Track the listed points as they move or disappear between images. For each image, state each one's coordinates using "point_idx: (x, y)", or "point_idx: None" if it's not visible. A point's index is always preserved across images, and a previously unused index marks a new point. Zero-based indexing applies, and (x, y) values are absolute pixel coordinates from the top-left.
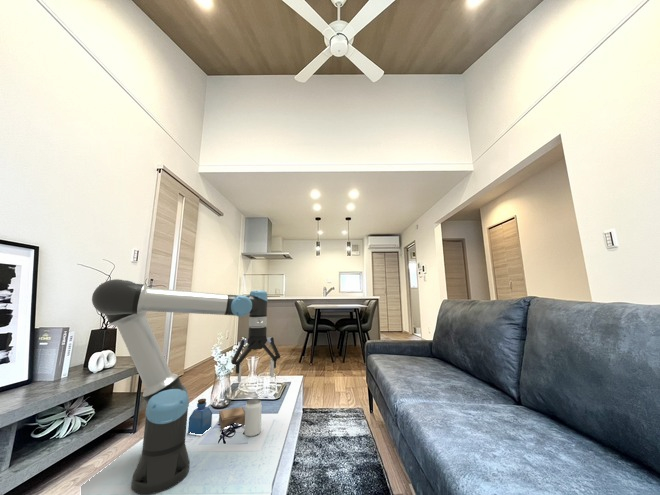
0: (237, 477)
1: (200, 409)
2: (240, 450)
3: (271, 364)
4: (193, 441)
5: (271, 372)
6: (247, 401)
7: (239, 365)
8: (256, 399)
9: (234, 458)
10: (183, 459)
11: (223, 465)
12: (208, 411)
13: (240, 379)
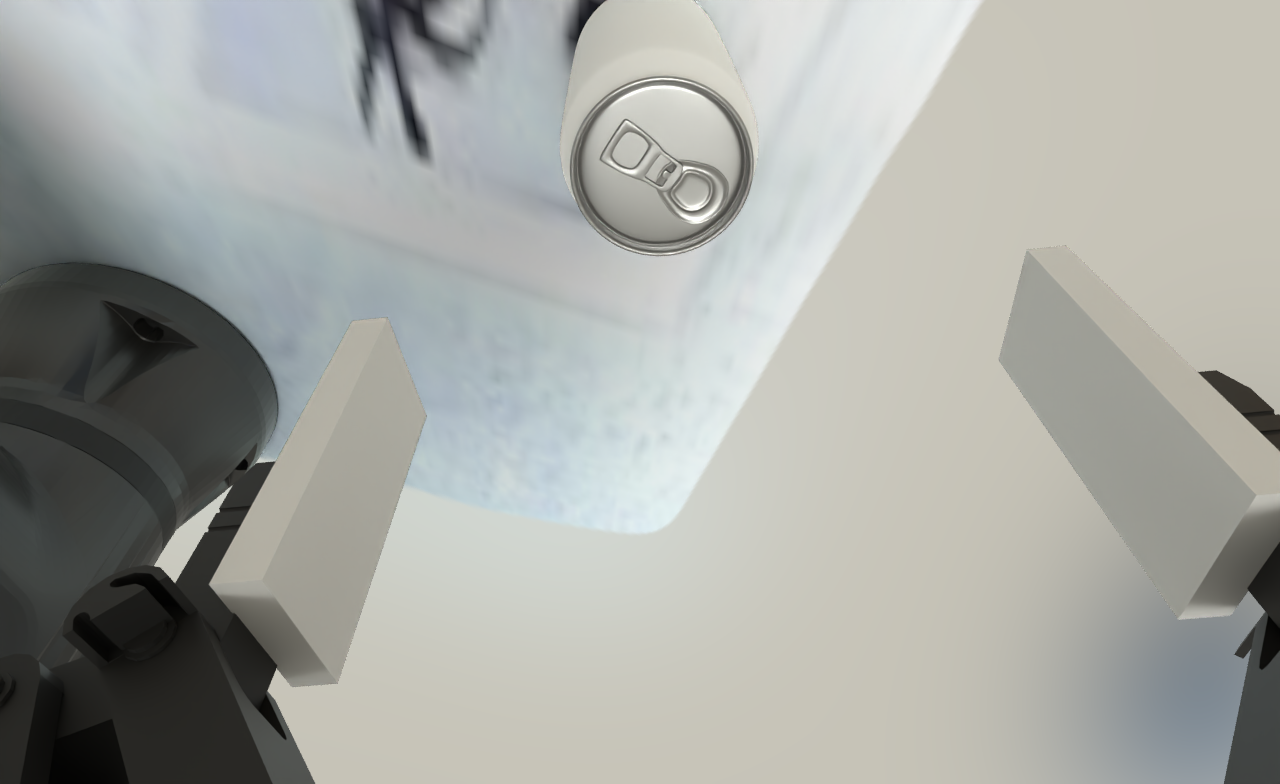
0: (534, 485)
1: None
2: (544, 290)
3: (1143, 493)
4: (122, 15)
5: (1044, 382)
6: (580, 138)
7: (285, 678)
8: (710, 93)
9: (511, 355)
10: (225, 476)
11: (455, 392)
12: None
13: (408, 452)
